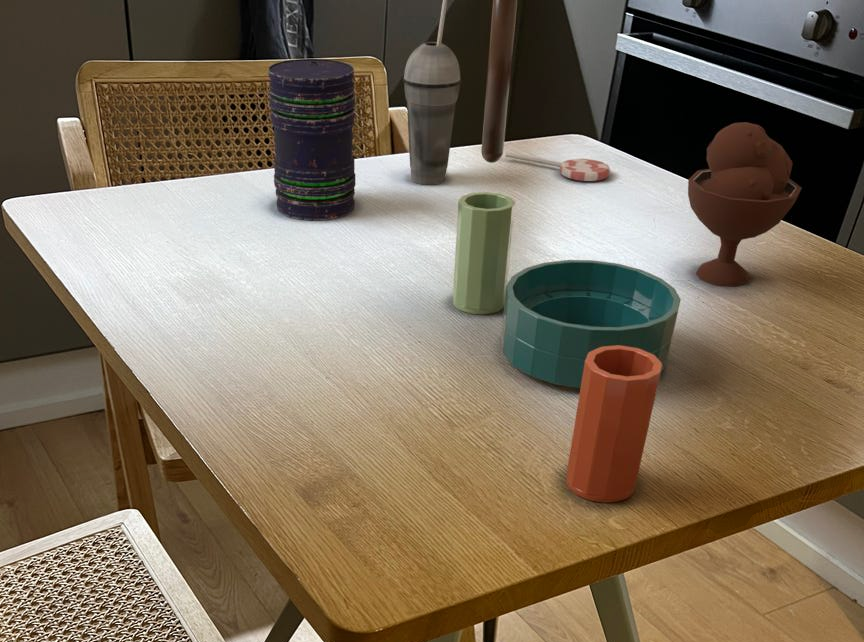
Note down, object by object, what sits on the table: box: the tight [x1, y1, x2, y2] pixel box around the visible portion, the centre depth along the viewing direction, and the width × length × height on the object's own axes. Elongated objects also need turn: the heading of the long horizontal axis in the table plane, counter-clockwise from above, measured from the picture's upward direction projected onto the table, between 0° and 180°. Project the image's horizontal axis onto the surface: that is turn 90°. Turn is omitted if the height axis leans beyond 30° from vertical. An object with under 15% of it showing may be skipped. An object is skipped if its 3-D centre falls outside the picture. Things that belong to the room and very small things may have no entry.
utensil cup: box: [565, 345, 662, 504], centre depth 71 cm, size 5×5×10 cm
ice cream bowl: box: [687, 121, 802, 287], centre depth 99 cm, size 11×11×15 cm
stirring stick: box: [480, 0, 518, 164], centre depth 83 cm, size 2×2×19 cm
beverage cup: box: [402, 0, 462, 186], centre depth 120 cm, size 7×7×20 cm
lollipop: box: [504, 151, 611, 182], centre depth 130 cm, size 7×1×15 cm
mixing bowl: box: [500, 259, 682, 389], centre depth 88 cm, size 15×15×6 cm
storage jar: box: [268, 58, 357, 221], centre depth 114 cm, size 10×10×15 cm
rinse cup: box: [452, 191, 516, 315], centre depth 95 cm, size 5×5×10 cm
